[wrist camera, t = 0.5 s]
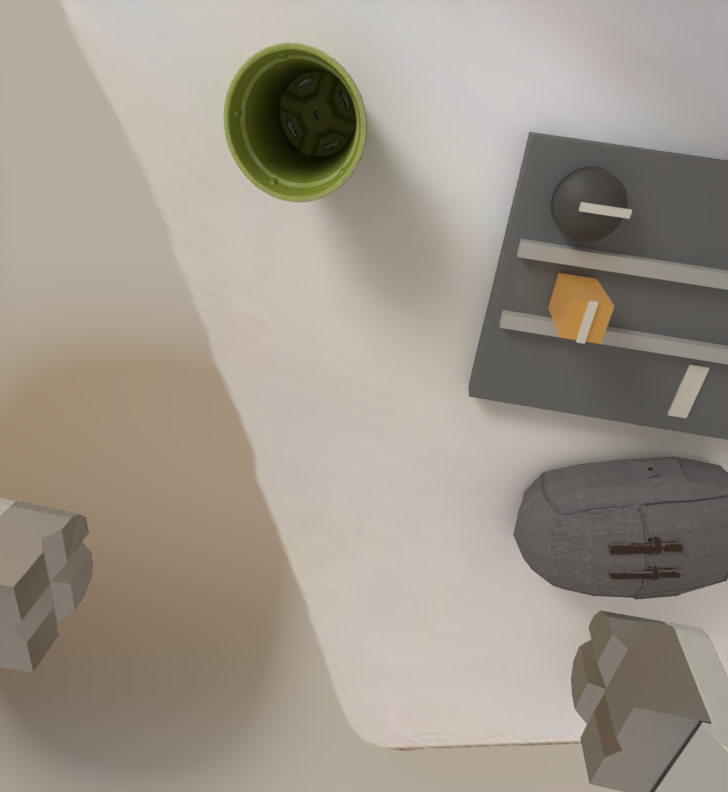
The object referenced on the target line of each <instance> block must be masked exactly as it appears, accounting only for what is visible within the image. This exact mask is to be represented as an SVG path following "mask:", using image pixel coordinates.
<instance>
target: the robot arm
mask: <svg viewBox="0 0 728 792" xmlns="http://www.w3.org/2000/svg"><path fill="white" fill-rule="evenodd" d="M88 534H89V529H88V524H87V519H86V517H85V516H83V515H80V514H77V513H73V512H68V511H63V510H59V509H53V508H49V507H45V506H40V505H35V504H31V503H26V502H18V501H14V500H8V499H4V498H0V667H3V668H9V669H15V670H21V671H27V672H34V671H35V669H36V668H37V666H38V665H39V663H40V662H41V661H42V659H43V658H44V656H45V655H46V653H47V652H48V650H49V649H50V647H51V646H52V645H53V643H54V642H55V640H56V639H57V637H58V636H59V632H58V623H57V622H58V621H59V620H61V619H63V618H65V617H67V616H68V615H70V614H72V613H74V612H75V611H76V609H77V608H78V606H79V605H80V603H81V602H82V600H83V599H84V597H85V595H86V592H87V589H88V587H89V584H90V581H91V579H92V571H93V559H92V553H91V552H90V551H89V550H88V549H87V547H86V546H85V545H84V544H83V543H82V542H83V540H84V539H85V538H86V536H87V535H88ZM589 630H590V634H591V639H592V640H590V641H588V642H586V643H584V644H583V645H581V646H580V647H579V649H578V651H577V654H576V656H575V659H574V662H573V669H572V677H571V683H572V696H573V702H574V707H575V710H576V711H577V712H578V714H579V715H580V716H581V717H582V719H583V720H584V721H585V722H586V723H587V726H586V728H585V730H584V732H583V734H582V736H581V743H582V748H583V753H584V758H585V762H586V768H587V773H588V777H589V782H590V784H593V785H597V786H601V787H606V788H610V789H615V790H619V791H624V792H728V677H727V675H726V673H725V670H724V668H723V666H722V664H721V662H720V660H719V657H718V655H717V653H716V651H715V649H714V647H713V644H712V642H711V640H710V638H709V636H708V635H707V634H706V633H705V632H704V631H703V630H702V629H701V628H696V627H690V626H684V625H679V624H673V623H664V622H662V621H656V620H651V619H645V618H639V617H634V616H628V615H622V614H616V613H611V612H605V611H599V612H598V613H597V614H596V615H594V617H593V619H592V621H591V623H590V625H589Z"/></svg>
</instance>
